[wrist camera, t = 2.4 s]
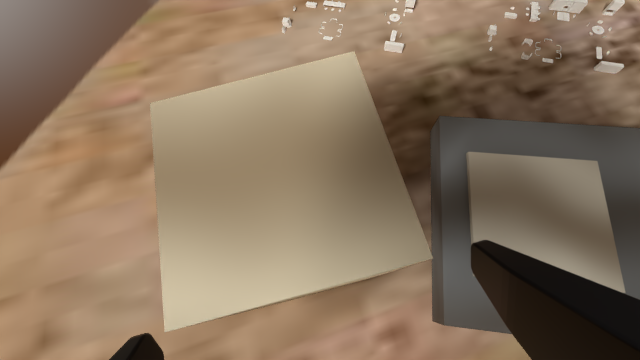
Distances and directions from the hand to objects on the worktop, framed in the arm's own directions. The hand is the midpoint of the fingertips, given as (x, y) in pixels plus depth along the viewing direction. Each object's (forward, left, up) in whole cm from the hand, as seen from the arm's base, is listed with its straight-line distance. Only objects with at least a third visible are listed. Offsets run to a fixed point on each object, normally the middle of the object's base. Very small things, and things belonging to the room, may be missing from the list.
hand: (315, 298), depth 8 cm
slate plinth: (-10, -11, -10) cm, 18 cm away
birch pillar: (+2, -2, -10) cm, 10 cm away
